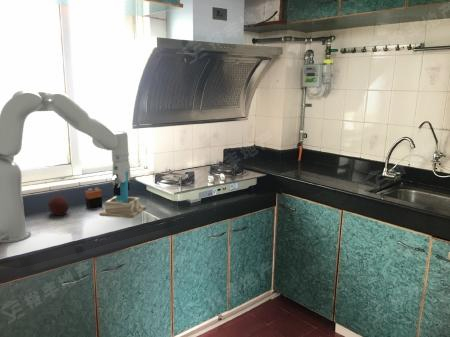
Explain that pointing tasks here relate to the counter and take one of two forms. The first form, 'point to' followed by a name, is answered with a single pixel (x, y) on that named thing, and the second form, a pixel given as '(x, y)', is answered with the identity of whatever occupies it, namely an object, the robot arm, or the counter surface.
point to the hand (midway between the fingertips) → (121, 192)
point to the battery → (93, 198)
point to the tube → (123, 191)
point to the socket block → (122, 208)
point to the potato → (58, 205)
